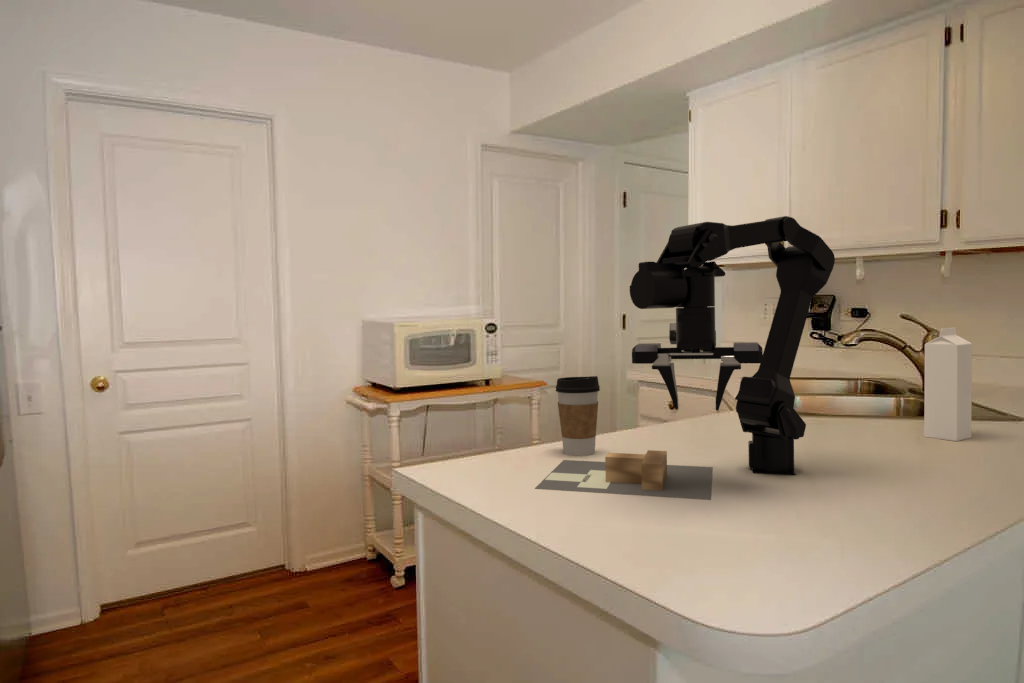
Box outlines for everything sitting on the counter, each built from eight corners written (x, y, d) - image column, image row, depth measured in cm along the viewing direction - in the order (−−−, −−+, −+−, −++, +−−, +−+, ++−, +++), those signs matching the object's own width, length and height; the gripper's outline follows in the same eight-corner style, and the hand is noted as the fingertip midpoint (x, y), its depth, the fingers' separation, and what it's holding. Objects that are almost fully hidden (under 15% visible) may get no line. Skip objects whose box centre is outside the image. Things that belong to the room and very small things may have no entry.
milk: (924, 437, 129) (923, 328, 128) (939, 433, 132) (938, 326, 131) (957, 441, 124) (957, 328, 123) (972, 437, 127) (972, 327, 126)
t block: (667, 475, 104) (666, 451, 104) (662, 490, 96) (661, 464, 95) (611, 472, 107) (611, 448, 107) (602, 487, 98) (601, 461, 98)
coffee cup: (587, 461, 116) (585, 379, 116) (548, 456, 122) (546, 377, 121) (609, 452, 123) (607, 375, 122) (572, 447, 128) (570, 373, 127)
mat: (712, 469, 108) (712, 466, 108) (710, 502, 90) (710, 499, 90) (563, 462, 117) (563, 459, 117) (534, 491, 99) (534, 488, 99)
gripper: (758, 305, 102) (759, 402, 102) (639, 308, 107) (641, 400, 108) (762, 305, 91) (763, 414, 92) (630, 309, 97) (632, 411, 98)
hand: (696, 409), depth 98 cm, fingers open, 6 cm apart
